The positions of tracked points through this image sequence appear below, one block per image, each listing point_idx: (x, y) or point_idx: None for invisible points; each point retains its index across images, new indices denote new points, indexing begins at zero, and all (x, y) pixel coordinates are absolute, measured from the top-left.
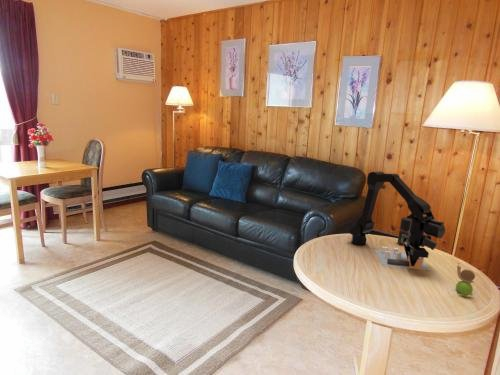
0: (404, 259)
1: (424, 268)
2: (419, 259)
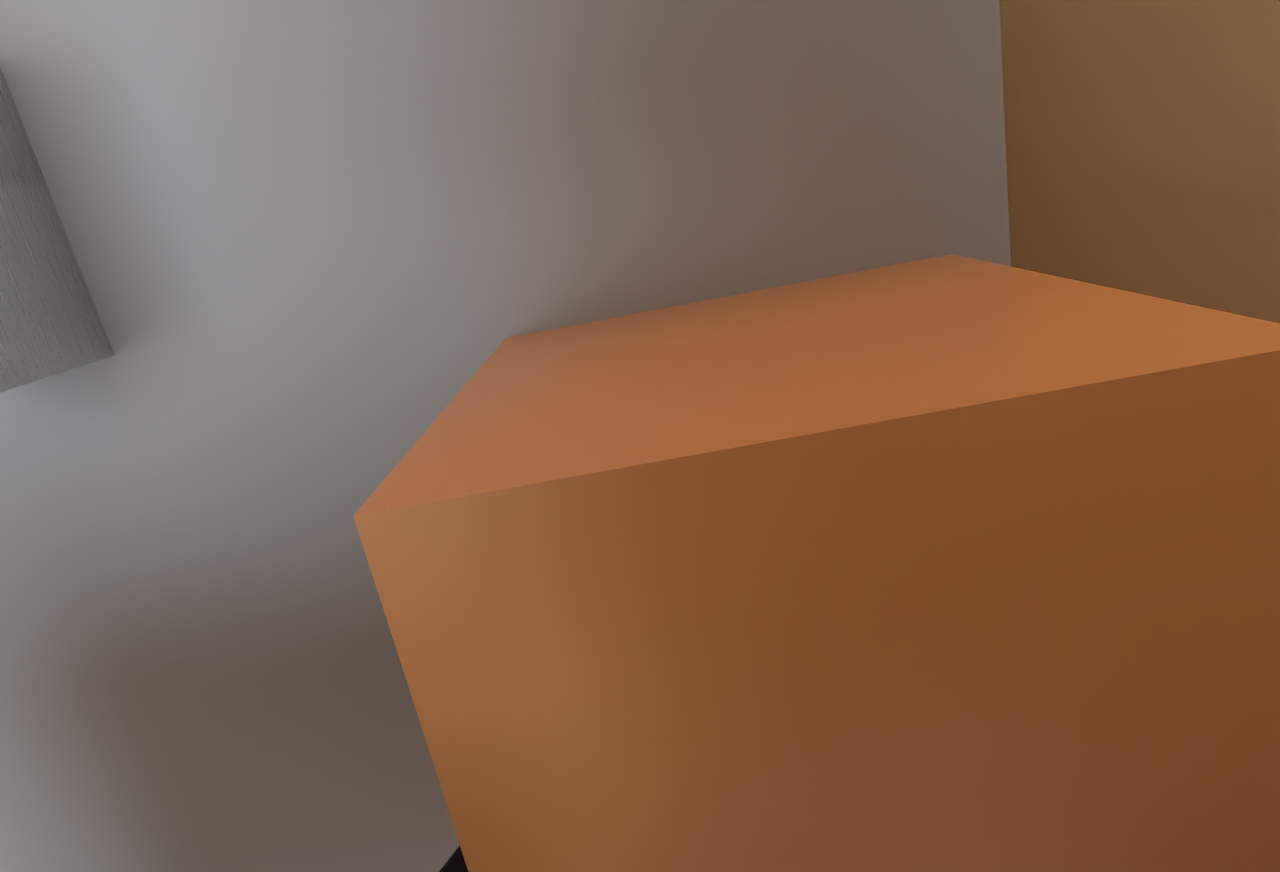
0: (167, 827)
1: (796, 84)
2: (1104, 641)
